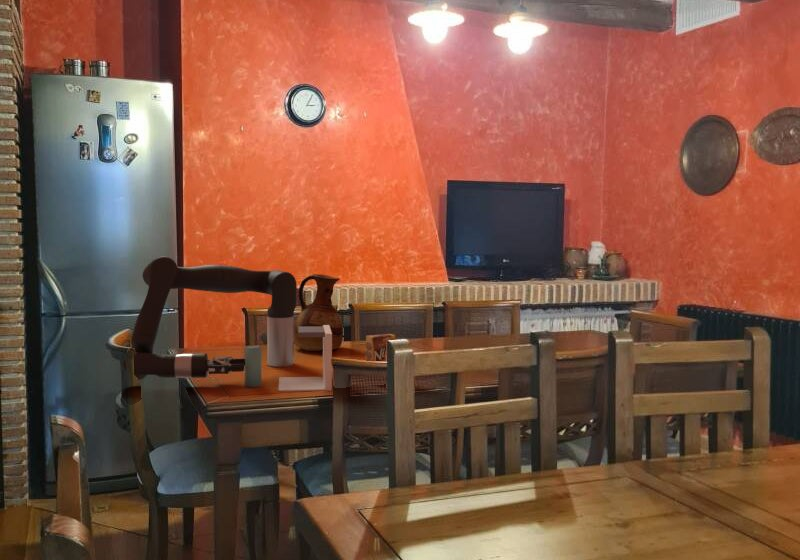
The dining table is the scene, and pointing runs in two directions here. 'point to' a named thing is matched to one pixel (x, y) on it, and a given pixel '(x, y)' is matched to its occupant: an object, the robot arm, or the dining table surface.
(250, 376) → the post
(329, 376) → the stand
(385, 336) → the candy box
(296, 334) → the ceramic pitcher
